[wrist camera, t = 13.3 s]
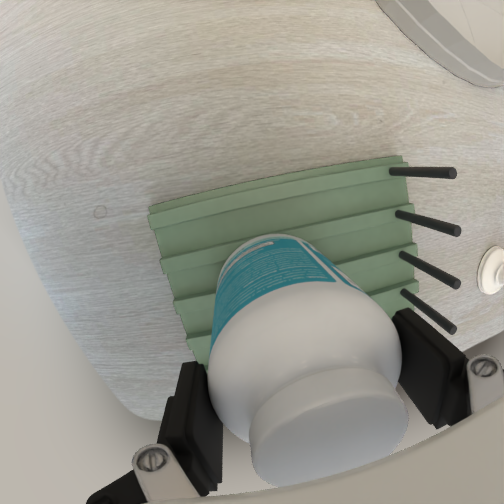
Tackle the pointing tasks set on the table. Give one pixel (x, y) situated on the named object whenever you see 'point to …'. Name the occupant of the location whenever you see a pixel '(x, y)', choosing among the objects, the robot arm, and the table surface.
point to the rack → (302, 234)
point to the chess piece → (491, 271)
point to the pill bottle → (302, 363)
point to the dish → (456, 35)
